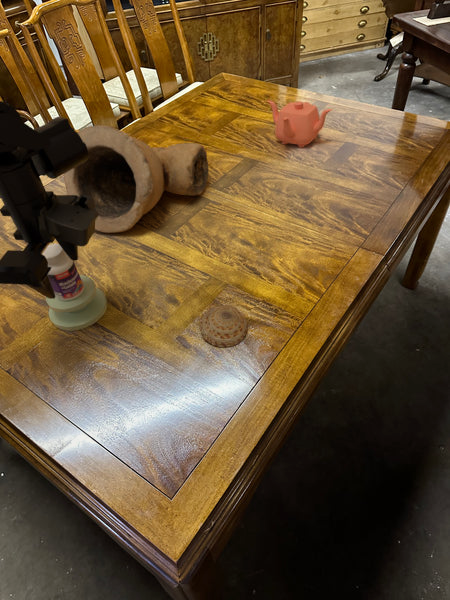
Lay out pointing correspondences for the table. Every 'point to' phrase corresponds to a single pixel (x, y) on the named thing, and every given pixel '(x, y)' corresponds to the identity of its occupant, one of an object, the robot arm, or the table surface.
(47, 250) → the pill bottle
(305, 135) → the teapot
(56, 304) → the stand
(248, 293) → the table surface
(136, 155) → the pipe
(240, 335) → the seashell
